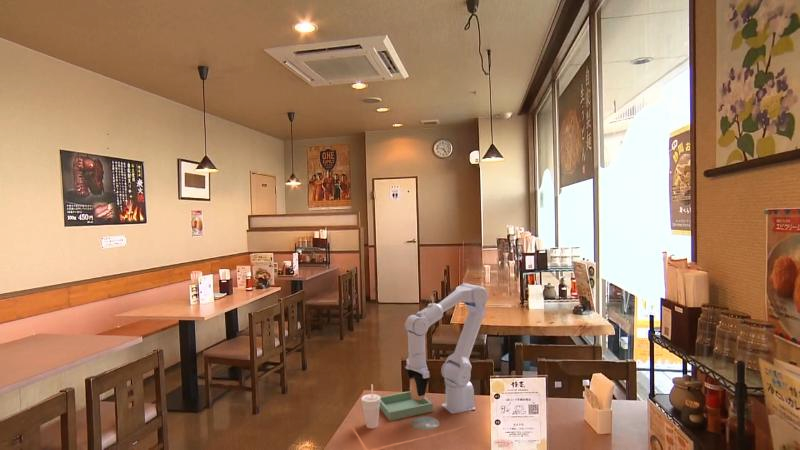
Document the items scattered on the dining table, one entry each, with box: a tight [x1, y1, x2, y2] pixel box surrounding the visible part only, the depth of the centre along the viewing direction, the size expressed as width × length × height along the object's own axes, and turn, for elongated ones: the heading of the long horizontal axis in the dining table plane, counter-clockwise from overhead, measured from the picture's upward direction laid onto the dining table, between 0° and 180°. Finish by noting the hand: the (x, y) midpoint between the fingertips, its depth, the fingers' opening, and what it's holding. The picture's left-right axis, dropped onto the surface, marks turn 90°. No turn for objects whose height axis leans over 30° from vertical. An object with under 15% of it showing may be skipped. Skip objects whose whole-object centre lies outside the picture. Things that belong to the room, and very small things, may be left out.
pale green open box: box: [379, 390, 434, 422], centre depth 152 cm, size 16×13×3 cm
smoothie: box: [360, 384, 382, 429], centre depth 140 cm, size 6×6×14 cm
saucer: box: [411, 416, 440, 431], centre depth 141 cm, size 9×9×1 cm
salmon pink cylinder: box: [409, 377, 426, 400], centre depth 144 cm, size 5×5×6 cm
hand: (418, 392), depth 144 cm, fingers closed on salmon pink cylinder, 5 cm apart
